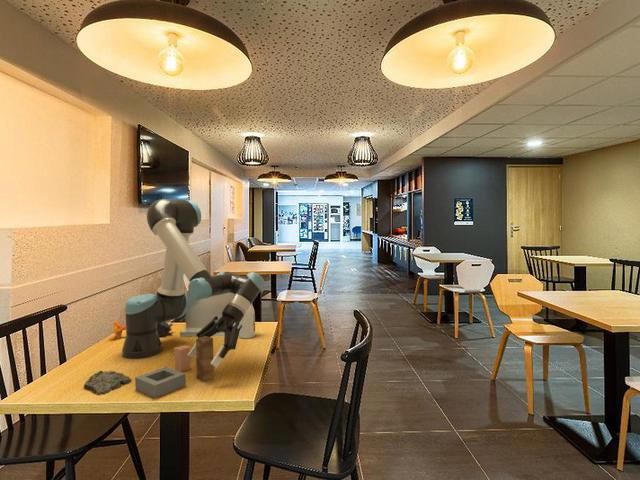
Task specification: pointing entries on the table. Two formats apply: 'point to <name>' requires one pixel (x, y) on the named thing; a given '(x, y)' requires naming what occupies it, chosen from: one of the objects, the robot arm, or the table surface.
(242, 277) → the robot arm
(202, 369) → the long peg
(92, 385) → the stone slab
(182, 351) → the short peg
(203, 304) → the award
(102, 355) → the table surface
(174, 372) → the collar
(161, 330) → the dragon figurine
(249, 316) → the milk bottle
